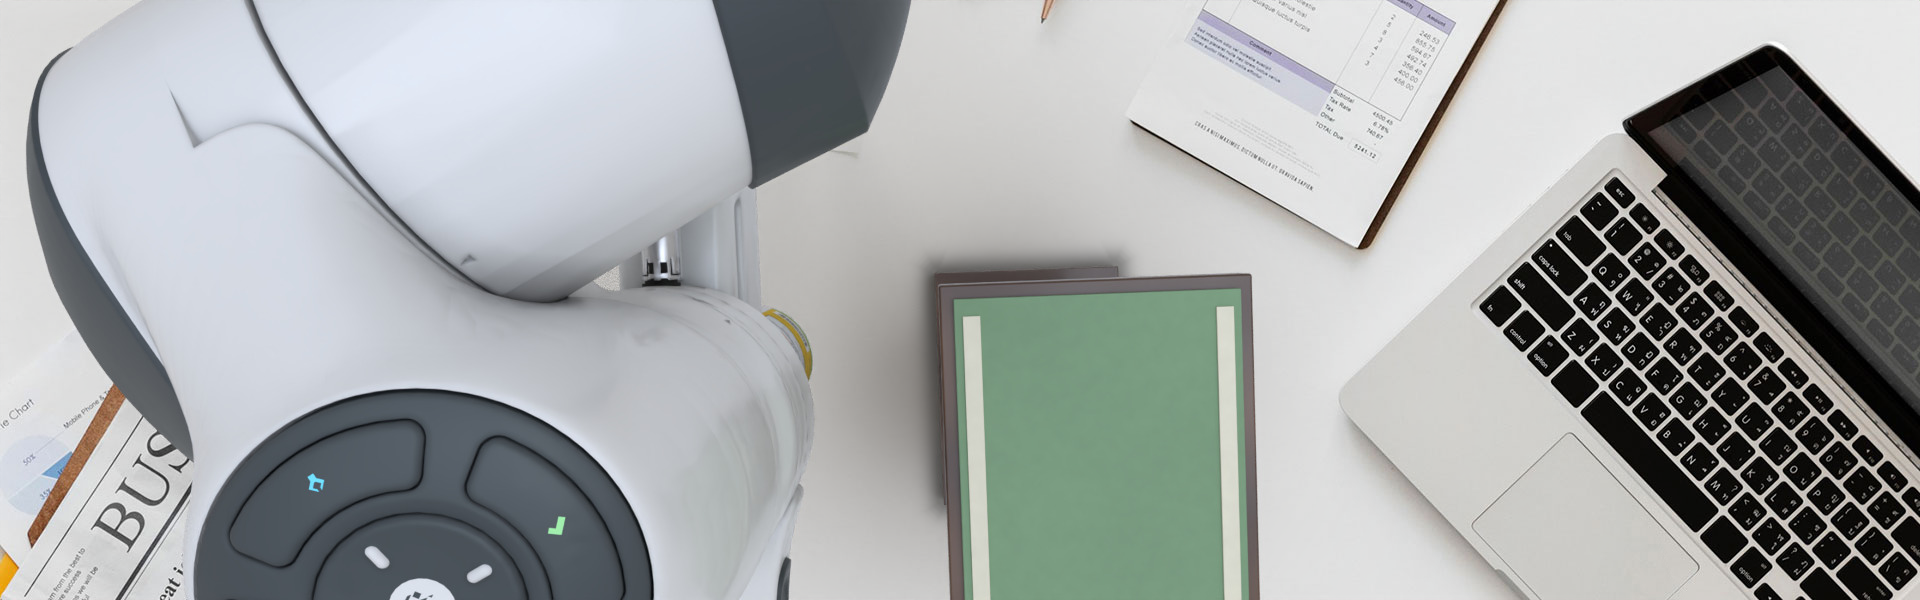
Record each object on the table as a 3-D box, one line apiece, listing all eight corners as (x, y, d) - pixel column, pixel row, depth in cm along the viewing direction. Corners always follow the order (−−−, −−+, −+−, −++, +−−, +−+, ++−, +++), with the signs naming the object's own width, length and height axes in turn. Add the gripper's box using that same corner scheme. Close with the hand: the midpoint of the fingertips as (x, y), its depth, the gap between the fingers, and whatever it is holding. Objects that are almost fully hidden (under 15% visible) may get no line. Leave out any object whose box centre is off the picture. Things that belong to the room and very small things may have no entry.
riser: (934, 272, 65) (938, 285, 37) (1113, 266, 65) (1252, 273, 37) (943, 499, 65) (953, 681, 37) (1120, 491, 65) (1262, 667, 38)
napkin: (953, 299, 37) (953, 299, 36) (1238, 288, 37) (1242, 288, 37) (967, 667, 37) (967, 671, 37) (1248, 654, 37) (1251, 658, 37)
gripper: (540, 89, 32) (656, 136, 45) (579, 755, 33) (680, 603, 46) (753, 82, 32) (803, 131, 46) (783, 744, 33) (823, 596, 47)
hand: (741, 373), depth 46 cm, fingers closed on supplement bottle, 5 cm apart
